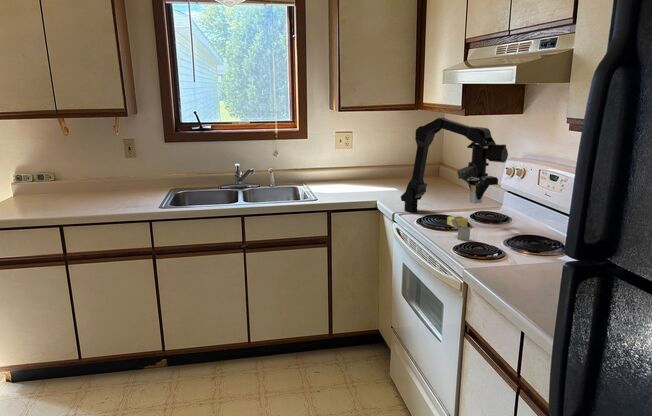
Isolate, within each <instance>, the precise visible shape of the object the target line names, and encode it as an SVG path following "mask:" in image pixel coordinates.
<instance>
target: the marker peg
mask: <svg viewBox="0 0 652 416" xmlns="http://www.w3.org/2000/svg"><path fill="white" fill-rule="evenodd" d="M469 191H470V192H469V203H472V204H482V203H483V196H482V197H481V199H480V200H478V199H477V186H476V185H471V189H470V188H469Z"/></svg>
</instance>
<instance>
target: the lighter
mask: <svg viewBox="0 0 652 416" xmlns="http://www.w3.org/2000/svg"><path fill="white" fill-rule="evenodd" d="M451 222H452V224H453V226H454V227H453V226H452V227H453V228H454V230H457V240H459V241H460V240H461V241H467V242H468V241H470V239H471V238H470V237H471V228H469V226H468V225H467V226H464V225H462V226H460V227H459V226H458V224H457V221H456V219H455V217H454V218H451Z"/></svg>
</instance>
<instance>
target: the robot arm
mask: <svg viewBox="0 0 652 416" xmlns="http://www.w3.org/2000/svg"><path fill="white" fill-rule="evenodd" d="M442 129H443V130H445V131H449V132H452V133H455V134H458V135H460V136H464V137H465V138H466V139H467V140H469V141H471V142H470V143H469V144H468V145H467V146H466V147H467V149H472V151H471V161H469V162H468V163H467V166H465V167H463V168H460V169H458V170H456V173H457V175H458V180H459V179H461V180H462V181H464V182H465V183H466V184H468V187H469V190H470V189H471V185H476V186H477V199H478V200H480V199H481V197H482V198H483V197H484V196H483V195H484V194H485V192H486V191H487V189H488V188H489V187H490V186H495V185H499V178H497V177H496V176H492V175H489V173H488V172H487V167H488V166H489V164H490V163H489V162H491V163H492V162H495V163H506V161H507V160H508V156H509V152H508V148H507V144H504V143H503V144H497V143H496V141H495V140H494V138H493V137H492V132H491V131H490V129H489V128H487V127H482V126H469V125H466V124H464V123H460V122H457V121H454V120H452V119H448V118H445V117H437V118H435V119H434V120H432V121H431V122H429V123H426V124H425V125H420V126H419V127H417V128H416V130H415V133H414V134H415V136H414V137H415V140H414V141H415V143H416V153H415V159H414V164H413V170H412V171H413V172H412V175H411V178H410V180H409V182H408V183H407V186H406V189H405V192H404V193H402V194H401V195H400V199H401V202H404V207H403V208H404V210H403V211H404V212H406V213H412V214H415V213H418V203H419V202H418V201H421V200H422V197H423V196H424V195H425V193H426V192H427V186H428V183H426V182H425V181H424V175H425V169H426V165H427V164H426V163H427V159H428V158H427V157H428V153H429V149H430V146H431V145H432V143H433V141H434V138H435V136H436V134H437V133H440V131H441V130H442ZM488 161H489V162H488Z"/></svg>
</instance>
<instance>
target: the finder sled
mask: <svg viewBox="0 0 652 416" xmlns="http://www.w3.org/2000/svg"><path fill="white" fill-rule="evenodd" d="M454 217H455V219H456V221H457V224H458V226H459V227H462V225H464V226H468V218H467V217H464V216H463V215H452V216H447V217H446V219H447V221H446V225H448V226H451V227H453V228H454V226H453V224H452V222H451V218H454Z"/></svg>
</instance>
